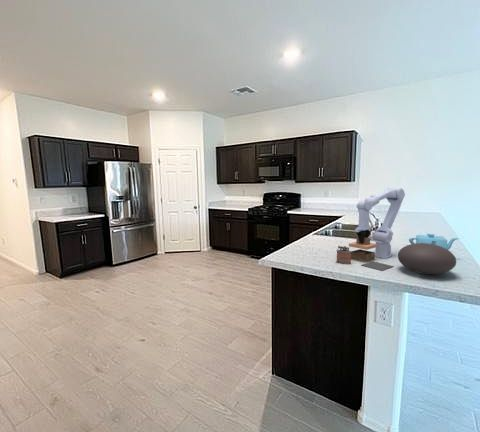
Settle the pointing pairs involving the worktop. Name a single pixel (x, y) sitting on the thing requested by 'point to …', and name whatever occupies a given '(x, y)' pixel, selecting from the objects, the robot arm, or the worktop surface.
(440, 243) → the teakettle
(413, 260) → the smooth stone
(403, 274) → the worktop surface
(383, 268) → the mat
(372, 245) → the lid
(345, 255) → the ornate red tin
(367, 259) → the box
